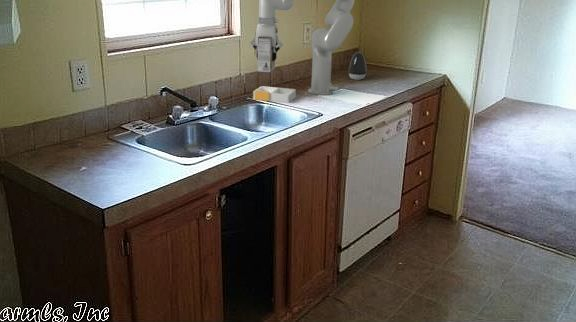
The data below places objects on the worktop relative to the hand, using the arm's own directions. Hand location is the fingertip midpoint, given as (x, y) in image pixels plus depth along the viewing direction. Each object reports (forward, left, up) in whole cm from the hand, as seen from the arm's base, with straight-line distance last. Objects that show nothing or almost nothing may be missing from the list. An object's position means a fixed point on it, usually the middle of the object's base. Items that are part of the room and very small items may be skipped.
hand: (266, 59), depth 255 cm
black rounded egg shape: (-34, -59, -18) cm, 71 cm away
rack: (-4, 0, -18) cm, 19 cm away
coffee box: (0, 0, -5) cm, 5 cm away
